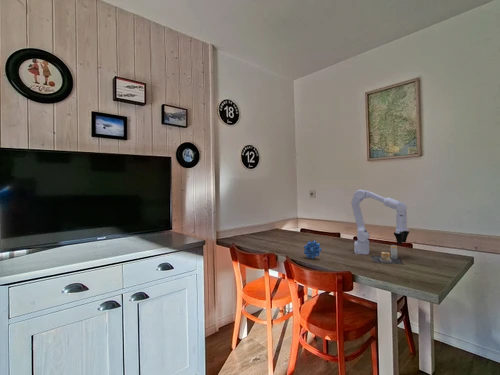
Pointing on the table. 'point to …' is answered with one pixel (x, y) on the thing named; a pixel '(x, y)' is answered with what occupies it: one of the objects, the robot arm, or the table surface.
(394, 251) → the post
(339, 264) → the table surface
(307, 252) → the grapes
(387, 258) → the taped cardboard box
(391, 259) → the base board
